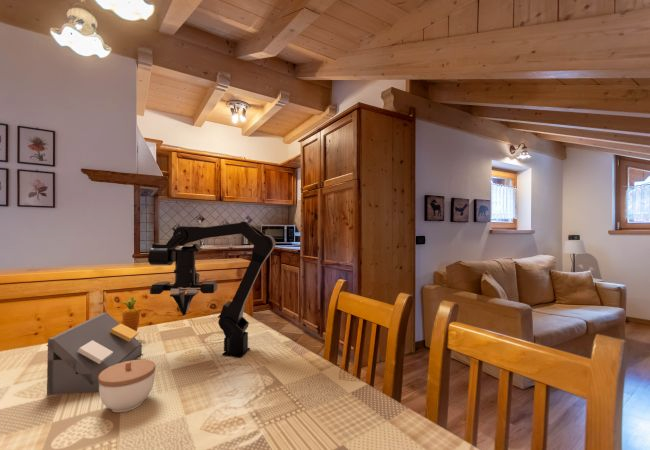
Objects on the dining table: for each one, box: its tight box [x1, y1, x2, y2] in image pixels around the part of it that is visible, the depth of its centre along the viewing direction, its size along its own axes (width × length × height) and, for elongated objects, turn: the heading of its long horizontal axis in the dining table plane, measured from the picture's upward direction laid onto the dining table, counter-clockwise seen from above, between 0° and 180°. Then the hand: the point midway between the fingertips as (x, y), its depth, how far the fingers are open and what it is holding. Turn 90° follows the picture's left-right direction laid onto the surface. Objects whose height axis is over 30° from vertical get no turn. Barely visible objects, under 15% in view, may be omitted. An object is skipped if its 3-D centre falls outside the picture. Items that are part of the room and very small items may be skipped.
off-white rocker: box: [77, 340, 113, 364], centre depth 76 cm, size 5×5×5 cm
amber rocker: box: [110, 323, 140, 341], centre depth 90 cm, size 5×5×5 cm
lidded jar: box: [98, 359, 156, 413], centre depth 67 cm, size 11×11×9 cm
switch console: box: [46, 312, 143, 395], centre depth 82 cm, size 12×22×13 cm, turn 8°
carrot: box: [122, 296, 140, 332], centre depth 104 cm, size 5×5×15 cm
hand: (184, 314), depth 95 cm, fingers closed
